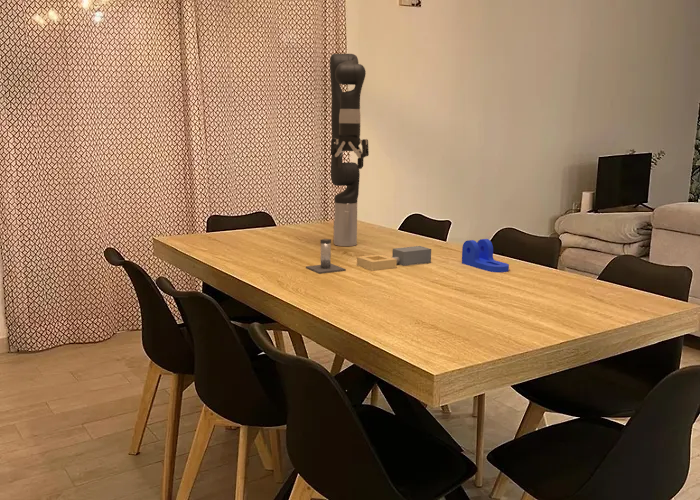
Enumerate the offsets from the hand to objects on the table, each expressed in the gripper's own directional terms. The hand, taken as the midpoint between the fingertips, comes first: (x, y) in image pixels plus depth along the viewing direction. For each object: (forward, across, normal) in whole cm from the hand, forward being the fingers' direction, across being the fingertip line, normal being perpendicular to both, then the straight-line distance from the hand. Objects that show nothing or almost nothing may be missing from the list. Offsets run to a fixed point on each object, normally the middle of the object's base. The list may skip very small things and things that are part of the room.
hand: (349, 168), depth 251 cm
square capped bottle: (+32, -2, +20) cm, 38 cm away
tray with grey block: (+33, -19, -1) cm, 38 cm away
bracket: (+34, -48, -14) cm, 60 cm away
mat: (+33, -2, +20) cm, 39 cm away
